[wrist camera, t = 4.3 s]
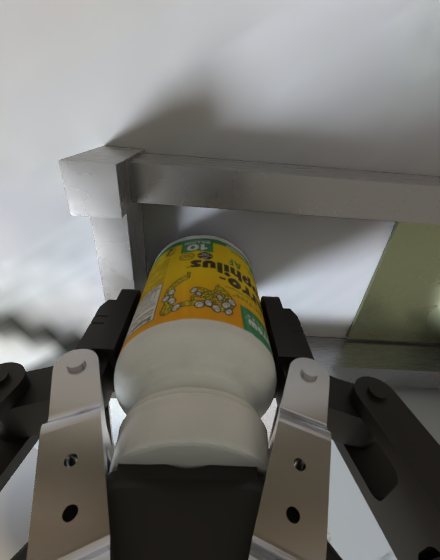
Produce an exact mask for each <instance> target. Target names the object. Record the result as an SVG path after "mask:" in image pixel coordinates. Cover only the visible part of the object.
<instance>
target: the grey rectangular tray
mask: <svg viewBox="0 0 440 560" xmlns="http://www.w3.org/2000/svg"><path fill="white" fill-rule="evenodd" d="M59 165H60V169H61V174H62V178H63V183H64V187H65V192H66V196H67V201H68V206H69V210H70V215H78V216H90V218H91V224H92V229H93V235H94V240H95V246H96V251H97V257H98V262H99V268H100V273H101V279H102V284H103V290H104V296H105V301H108V300H109V299H111V300H116V299H117V297H118V295H119V293H120V292H121V290H122V289H138V290H140V291H141V295H142V293H143V290H144V287H145V285H146V282H147V269H146V256H145V242H144V229H143V216H142V203H149V204H163V205H177V206H191V207H204V208H218V209H232V210H246V211H259V212H273V213H287V214H301V215H314V216H328V217H342V218H356V219H369V220H383V221H397V222H396V224H395V226H394V229H393V231H392V233H391V236H390V238H389V240H388V242H387V245H386V247H385V249H384V252H383V254H382V256H381V259H380V261H379V263H378V265H377V268H376V270H375V272H374V275H373V277H372V279H371V282H370V284H369V286H368V288H367V291H366V293H365V295H364V298H363V300H362V302H361V305H360V307H359V309H358V311H357V314H356V316H355V318H354V321H353V323H352V325H351V328H350V330H349V332H348V334H347V338H349V339H346V338H327V337H308V336H305V337H306V340H307V342H308V345H309V347H310V350H311V352H312V355H313V357H314V360H315V361H317V362H319V363H320V364H321V365H322V366H324V368H325V369H326V370H327V372H328V374H329V375H330V376H332V377H335V378H337V379H341V380H344V381H347V382H350V383H355V381H356V380H357V379H358V378H360V377H363V376H369V377H374V378H377V379H379V380H381V381H383V382H385V383H386V384H387V385H389V386H397V387H420V388H440V177H435V176H423V175H410V174H398V173H385V172H373V171H361V170H348V169H336V168H324V167H311V166H299V165H287V164H274V163H262V162H249V161H237V160H225V159H212V158H200V157H188V156H175V155H163V154H151V153H144V149H134V148H122V147H109V146H102V147H98V148H95V149H92V150H89V151H86V152H83V153H80V154H77V155H74V156H71V157H67V158H64V159H61V160H59ZM365 339H368V340H365ZM384 340H387V341H384ZM403 341H406V342H403ZM422 342H425V343H422ZM111 398H117V397H116V393H115V392H113V393H112V395H111Z"/></svg>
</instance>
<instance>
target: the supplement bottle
mask: <svg viewBox="0 0 440 560" xmlns="http://www.w3.org/2000/svg"><path fill="white" fill-rule="evenodd" d="M276 384H277V375H276V368H275V362H274V358H273V354H272V350H271V346H270V342H269V338H268V335H267V330H266V326H265V321H264V318H263V313H262V309H261V304H260V300H259V296H258V292H257V288H256V284H255V279H254V276H253V272H252V268H251V265H250V263H249V261H248V259H247V257H246V256H245V254H244V253H243V252H242V251H241V250H240V249H239V248H238V247H236V246H235V245H234V244H232V243H230V242H229V241H227V240H225V239H223V238H219V237H216V236H209V235H196V236H187V237H183V238H180V239H177V240H175V241H173V242H172V243H170V244H169V245H167V246H166V247H165V248H164V249H163V250H162V251H161V252H160V254H159V255H158V256H157V258H156V260H155V262H154V264H153V266H152V269H151V271H150V274H149V276H148V279H147V282H146V285H145V287H144V290H143V293H142V295H141V298H140V301H139V304H138V306H137V309H136V311H135V314H134V317H133V319H132V322H131V325H130V327H129V330H128V333H127V336H126V338H125V341H124V344H123V346H122V349H121V351H120V354H119V357H118V360H117V363H116V367H115V372H114V389H115V393H116V397H117V400H118V402H119V404H120V406H121V408H122V409H123V411H124V412H125V413H126V417H125V419H124V420H123V422H122V424H121V426H120V429H119V436H118V440H117V443H116V447H115V451H114V455H113V459H112V462H111V466H110V472H113V471H116V470H117V467H118V463H119V464H168V465H171V466H174V467H178V468H181V469H184V470H193V469H197V468H200V467H204V466H208V465H223V466H249V467H257V472H258V473H260V474H263V475H265V473H266V468H267V464H268V459H269V447H268V437H267V430H266V427H265V425H264V423H263V422H262V420H261V419H260V418H261V417H262V416H263V415H264V414H265V413H266V411H267V410H268V408H269V407H270V405H271V403H272V400H273V398H274V395H275V391H276ZM110 472H109V473H110Z"/></svg>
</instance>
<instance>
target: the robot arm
mask: <svg viewBox="0 0 440 560" xmlns="http://www.w3.org/2000/svg"><path fill="white" fill-rule="evenodd" d="M140 298H141V291H140V290H138V289H122V290H121V292H120V293H119V295H118V297H117V299H116V300H111V299H109V300H108V301H106V302H105V303H104V304H103V305H101V306H100V308H99V309H98V311H97V313H96V315H95V317H94V318H93V320H92V322H91V324H90V325H89V327H88V329H87V330H86V332H85V334H84V335H83V337H82V339H81V341H80V342H79V344H78V346H77V348H76V349H75V350H73V351H70V352H68V353H66V354H64V355H63V356H62V357H60V358H59V359H58V360H57V361H56V363H55V364H54V366H51V367H47V368H42V369H38V370H33V371H28V372H26V371H25V369H24V367H23V366H22V365H21V364H18V363H14V362H9V363H3V364H0V491H1V490H2V489H3V487H4V486H5V485H6V483H7V482H8V480H9V479H10V477H11V476H12V475H13V473H14V472H15V471H16V470H17V468H18V467H19V465H20V464H21V463H22V461H23V460H24V459H25V457H26V456H27V454H28V453H29V452H30V450H31V449H32V448H33V446H34V445H35V444H36V442H37V441H38V439H39V446H38V456H37V465H36V475H35V484H34V493H33V503H32V512H31V521H30V530H29V540H28V542H27V543H26V544H25V545H24V546H23V547H22V548H21V549H20V550H19V552H17V553H16V555H14V556H13V558H12V559H11V560H343V559H342V558H341V557H340V555H339V554H338V553H337V552H336V550H335V549H334V548H333V547H332V545H331V544H330V543H329V541H328V540H327V528H328V506H329V483H330V461H331V439H332V440H333V441H334V443H335V445H336V447H337V449H338V451H339V452H340V454H341V456H342V458H343V460H344V462H345V463H346V465H347V467H348V469H349V471H350V473H351V475H352V476H353V478H354V480H355V482H356V484H357V486H358V488H359V489H360V491H361V493H362V495H363V497H364V499H365V501H366V502H367V504H368V506H369V508H370V510H371V512H372V514H373V515H374V517H375V519H376V521H377V523H378V525H379V527H380V528H381V530H382V532H383V534H384V536H385V538H386V540H387V541H388V543H389V545H390V547H391V549H392V551H393V553H394V554H395V556H396V558H397V560H440V445H439V444H438V442H437V441H436V440H435V439H434V438H433V437H432V435H431V434H430V433H429V432H428V431H427V429H426V428H425V427H424V426H423V425H422V423H421V422H420V421H419V420H418V419H417V418H416V416H415V415H414V414H413V413H412V412H411V410H410V409H409V408H408V407H407V406H406V404H405V403H404V402H403V401H402V400H401V399H400V397H399V396H398V395H397V394H396V393H395V391H394V390H393V389H392V388H391V387H390V386H389V385H387V384H386V383H385V382H383V381H381V380H379V379H377V378H374V377H369V376H363V377H360V378H358V379H357V380H356V381H355V383H350V382H347V381H344V380H341V379H337V378H335V377H332V376H330V375H329V374H328V372H327V370H326V369H325V368H324V366H322V365H321V364H320V363H319V362H317V361H315V360H314V357H313V355H312V352H311V350H310V347H309V345H308V342H307V340H306V337H305V335H304V334H303V329H302V327H301V324H300V322H299V319H298V317H297V315H296V314H295V313H294V312H293V311H292V310H291V309H286V308H283V307H282V304H281V301H280V299H279V297H267V296H262V298H261V301H260V304H261V309H262V313H263V318H264V321H265V326H266V330H267V335H268V338H269V342H270V346H271V350H272V354H273V358H274V362H275V368H276V375H277V384H276V391H275V395H274V398H276V401H277V408H276V412H275V416H274V420H273V424H272V428H271V432H270V437H269V441H268V447H269V459H268V464H267V468H266V473H265V475H263V474H260V473H258V472H257V467H249V466H223V465H208V466H204V467H200V468H197V469H193V470H184V469H181V468H178V467H174V466H171V465H168V464H119V463H118V467H117V470H116V471H113V472H110V466H111V462H112V459H113V455H114V443H113V433H112V424H111V415H110V406H109V401H110V398H111V395H112V393H113V392H115V389H114V372H115V367H116V363H117V360H118V357H119V354H120V351H121V349H122V346H123V344H124V341H125V338H126V336H127V333H128V330H129V327H130V325H131V322H132V319H133V317H134V314H135V311H136V309H137V306H138V304H139V301H140ZM109 472H110V473H109Z"/></svg>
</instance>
